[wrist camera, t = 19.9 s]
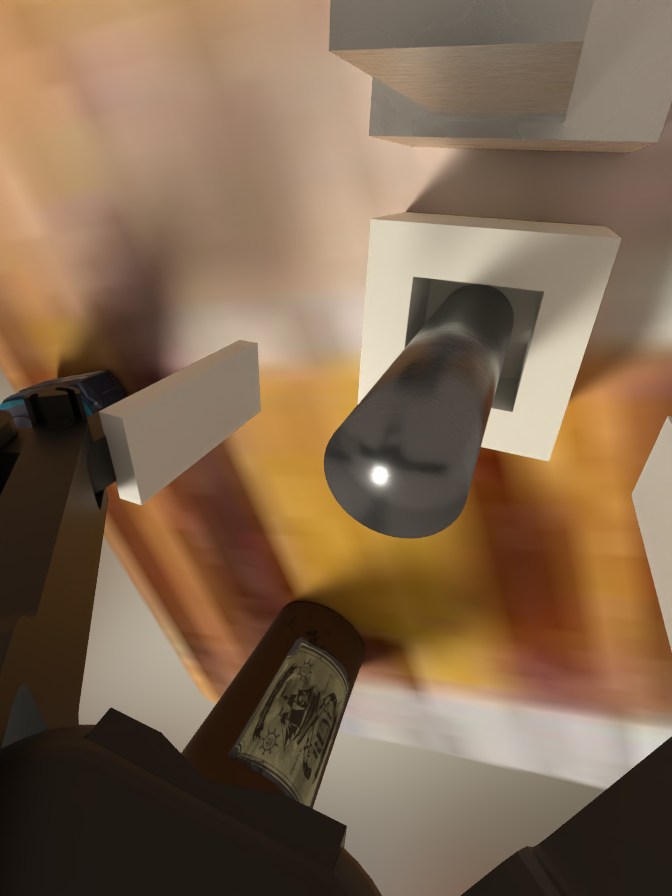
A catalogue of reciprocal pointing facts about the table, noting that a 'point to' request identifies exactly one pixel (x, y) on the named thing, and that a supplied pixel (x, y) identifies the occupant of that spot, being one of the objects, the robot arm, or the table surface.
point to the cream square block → (523, 283)
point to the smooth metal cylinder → (424, 420)
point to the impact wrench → (93, 386)
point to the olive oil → (283, 706)
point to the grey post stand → (512, 71)
